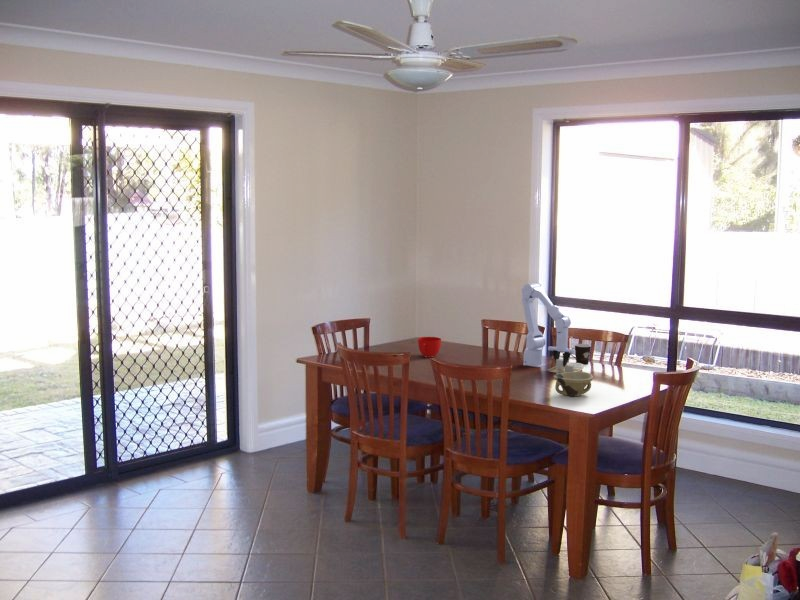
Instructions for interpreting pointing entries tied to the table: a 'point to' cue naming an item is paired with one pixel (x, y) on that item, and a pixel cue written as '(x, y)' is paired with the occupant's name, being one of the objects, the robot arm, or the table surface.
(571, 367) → the stone
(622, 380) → the table surface
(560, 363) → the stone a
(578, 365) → the dish
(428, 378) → the table surface
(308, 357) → the table surface
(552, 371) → the tray
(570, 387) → the bowl
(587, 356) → the coffee mug
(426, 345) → the ceramic cup
